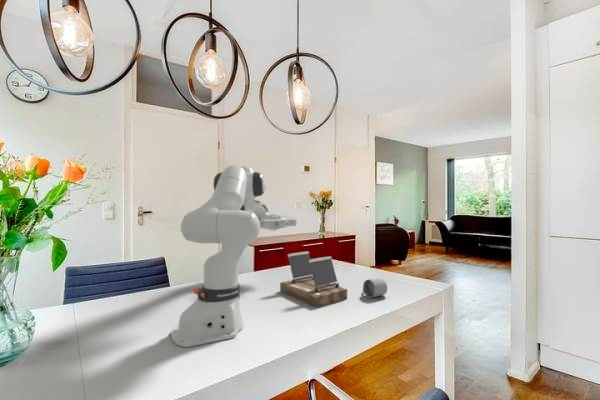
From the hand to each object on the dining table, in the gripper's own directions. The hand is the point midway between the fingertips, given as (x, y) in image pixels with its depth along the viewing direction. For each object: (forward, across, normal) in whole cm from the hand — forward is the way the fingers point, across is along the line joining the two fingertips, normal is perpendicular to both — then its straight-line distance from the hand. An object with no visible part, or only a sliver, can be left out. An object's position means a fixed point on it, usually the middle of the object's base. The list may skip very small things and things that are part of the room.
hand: (286, 223), depth 152 cm
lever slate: (+30, 0, +24) cm, 39 cm away
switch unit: (+22, -1, +30) cm, 37 cm away
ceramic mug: (+39, +19, +30) cm, 53 cm away
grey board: (+14, 0, +24) cm, 28 cm away
